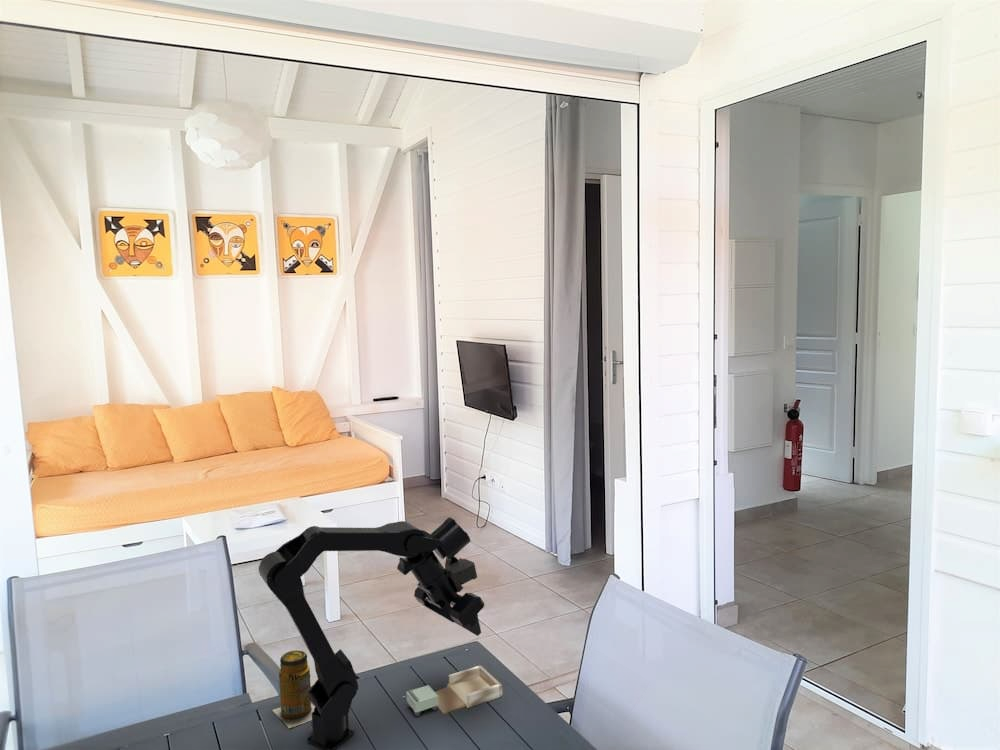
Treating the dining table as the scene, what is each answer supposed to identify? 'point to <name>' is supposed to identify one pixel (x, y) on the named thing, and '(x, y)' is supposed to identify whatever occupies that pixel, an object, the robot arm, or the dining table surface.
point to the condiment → (294, 689)
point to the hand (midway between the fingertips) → (466, 627)
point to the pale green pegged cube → (422, 699)
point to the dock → (468, 689)
